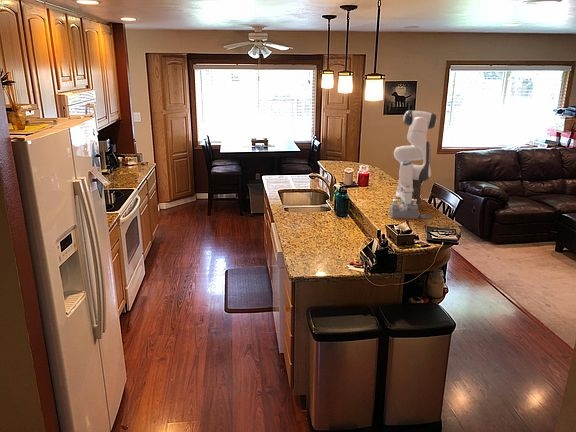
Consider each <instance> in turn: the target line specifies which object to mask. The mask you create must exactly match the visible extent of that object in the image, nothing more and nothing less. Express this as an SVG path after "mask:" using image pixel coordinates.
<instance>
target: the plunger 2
mask: <svg viewBox="0 0 576 432" xmlns="http://www.w3.org/2000/svg"><path fill="white" fill-rule="evenodd" d="M416 201H417V199H412V204H411V206H416Z"/></svg>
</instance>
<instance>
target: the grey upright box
mask: <svg viewBox="0 0 576 432" xmlns="http://www.w3.org/2000/svg"><path fill="white" fill-rule="evenodd" d="M412 180H413V179H412ZM421 189H422V181H420V180H413V192H412V199H417V201H416V204H417V205H418V210H420V208H421V207H420V205H421V197H420V195H421V194H422V193H421V191H422V190H421ZM411 204H412V201H411ZM408 207H409V204H408Z"/></svg>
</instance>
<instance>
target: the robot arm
mask: <svg viewBox="0 0 576 432" xmlns="http://www.w3.org/2000/svg"><path fill="white" fill-rule="evenodd" d="M402 117H403V119H402V120H403V123H404V125H405V126H408V132H407V135H406V139H407V141H408V142H409V143H410V144H411V145H401V146H397V147H395V149H394V150H393V157H394V159H395V160H396V161H398V163H399V171H398V177H399V178H398V185H397V187H396V192H395V198H396V199H398V198H400V200H401V201H402V200H403V202H404V209H407V205H408V204H411V201H412V192H413V180H420V181H421V182H427V181H428V180H429V179H430V178H431V177H432V171H431V144H430V142H429V141H428V140H427V134H428V130H429V129H433V128H435V126H436V125H437V124H438V116H437V114H435V113H433V112H429V111H424V110H422V111H421V110H412V109H409V110H407V111H405V113H404V115H403V116H402ZM422 160H423V161H422ZM413 161H422V162H423V163H422V164H421V165H420V164H414V162H413ZM412 179H413V180H412ZM420 198H422V195H421V194H420Z"/></svg>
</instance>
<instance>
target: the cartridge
mask: <svg viewBox="0 0 576 432" xmlns="http://www.w3.org/2000/svg"><path fill="white" fill-rule="evenodd" d="M400 207H401V210H407V209H408V205H407V209H404V202H403V200H402V199H401V201H400Z"/></svg>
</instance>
